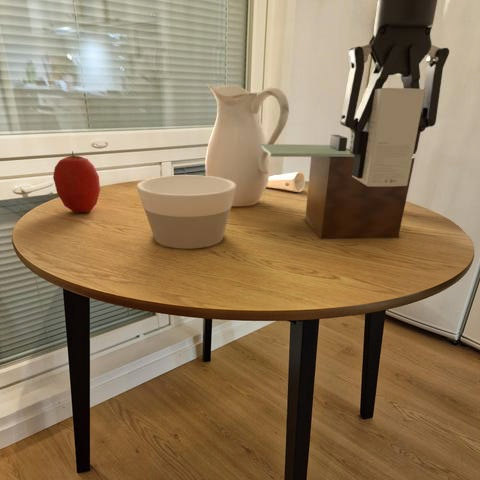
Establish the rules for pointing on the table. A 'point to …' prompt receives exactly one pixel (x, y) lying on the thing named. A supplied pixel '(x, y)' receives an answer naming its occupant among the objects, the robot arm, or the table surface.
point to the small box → (391, 136)
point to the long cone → (287, 182)
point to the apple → (77, 183)
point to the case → (351, 202)
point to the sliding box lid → (310, 149)
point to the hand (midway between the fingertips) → (378, 176)
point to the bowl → (187, 209)
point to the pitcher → (242, 141)
